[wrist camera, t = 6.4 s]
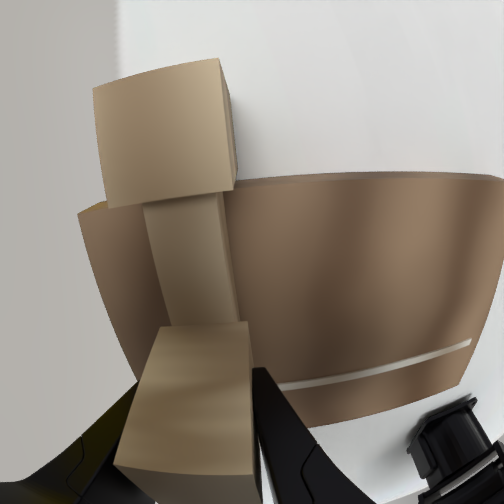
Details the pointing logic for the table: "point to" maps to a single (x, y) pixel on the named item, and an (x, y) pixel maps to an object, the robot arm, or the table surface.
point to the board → (332, 282)
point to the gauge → (184, 285)
